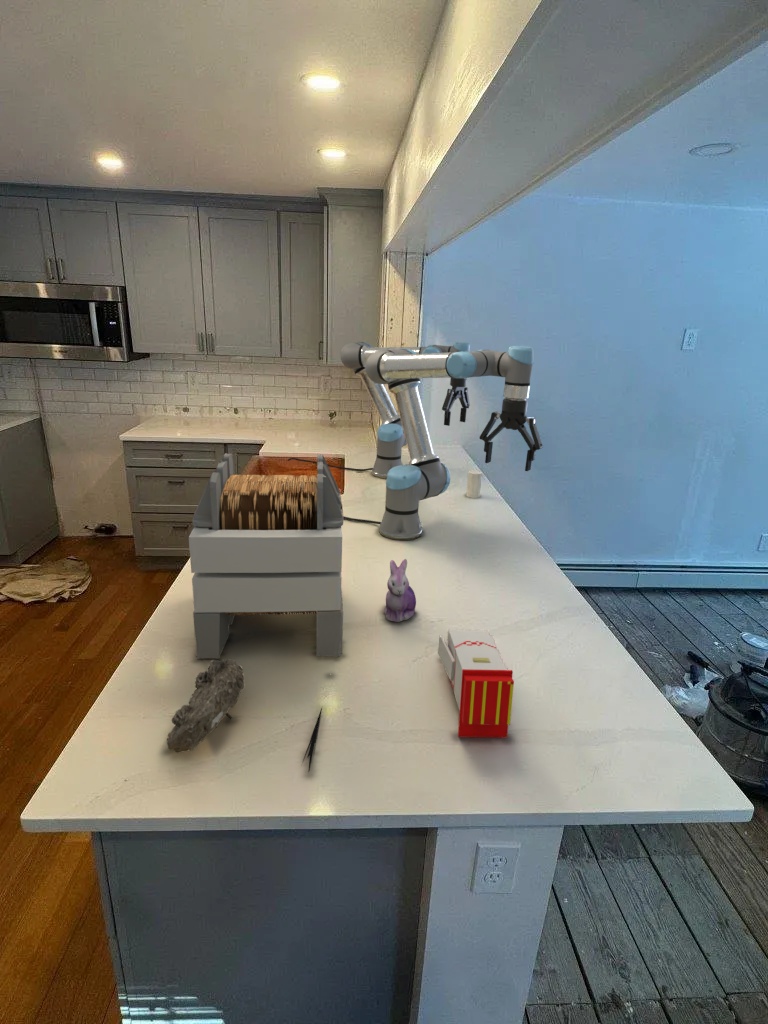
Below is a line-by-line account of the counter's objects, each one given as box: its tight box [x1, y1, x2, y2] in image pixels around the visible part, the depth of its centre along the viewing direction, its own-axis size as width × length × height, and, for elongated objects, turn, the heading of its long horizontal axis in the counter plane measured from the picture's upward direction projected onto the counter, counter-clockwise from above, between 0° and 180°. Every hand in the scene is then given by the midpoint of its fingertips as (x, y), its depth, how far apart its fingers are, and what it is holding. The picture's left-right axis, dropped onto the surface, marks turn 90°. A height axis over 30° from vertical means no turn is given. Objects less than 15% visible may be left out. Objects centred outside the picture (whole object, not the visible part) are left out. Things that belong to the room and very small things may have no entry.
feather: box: [301, 673, 332, 771], centre depth 108 cm, size 2×28×2 cm
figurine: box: [384, 558, 417, 623], centre depth 145 cm, size 9×10×15 cm
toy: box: [437, 628, 515, 738], centre depth 117 cm, size 12×13×30 cm
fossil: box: [166, 658, 245, 754], centre depth 106 cm, size 22×10×15 cm
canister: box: [465, 469, 483, 499], centre depth 243 cm, size 6×6×11 cm
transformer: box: [188, 452, 345, 660], centre depth 135 cm, size 34×33×41 cm
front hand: (507, 466), depth 180 cm, fingers open, 13 cm apart
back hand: (454, 423), depth 266 cm, fingers open, 13 cm apart
